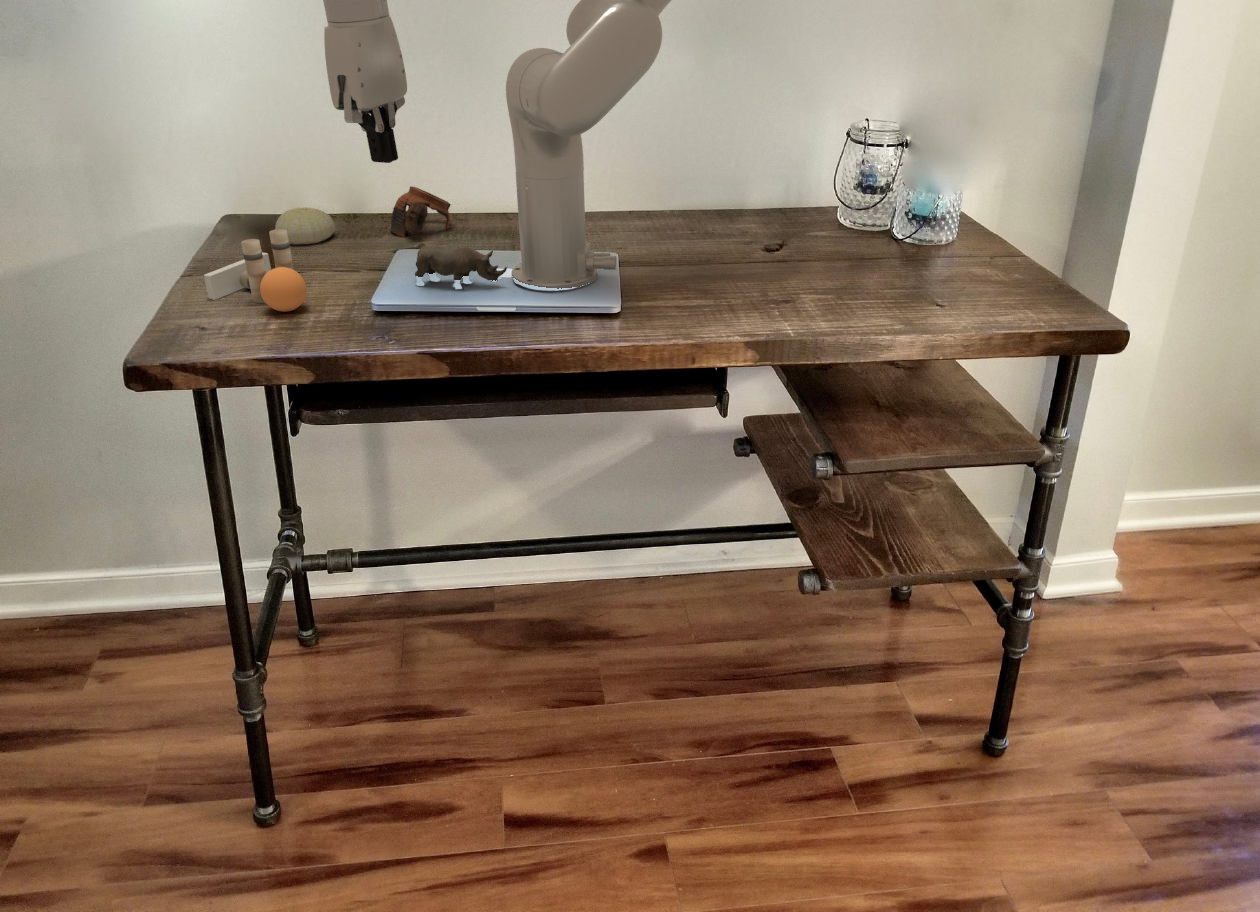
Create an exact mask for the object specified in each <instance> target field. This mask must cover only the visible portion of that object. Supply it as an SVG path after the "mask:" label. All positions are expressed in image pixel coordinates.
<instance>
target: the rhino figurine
mask: <svg viewBox="0 0 1260 912" xmlns="http://www.w3.org/2000/svg"><path fill="white" fill-rule="evenodd" d="M493 254H494V251H493V250H491V251H489V252H488V253H487V254H483V253H480V252H479V251H478V250H476V249H473V248H471V247H469V246H468V247H467V246H459V247H456V248H446V247H443V246H440V245H423V246H422V247H421V248H419V249H418V251H417V257H416V262H415V266H416V269H417V270H416V271H415V273H414V276H415V277H416V276H418V277H424V276H425V275H426V274H427V273H429V274H433V273H436V274H437V275H441V276H446V277H447V276H448V277H449V276H452V275H453V281H454V280H461V281H462V280H463V278H462V277H463V276H469V277H470V273H471V272H477V275H478V276H479V277H481V278H483V279H485V280H486V281H489V280H492V281H493V280H495V281H496V280H497V281H498V280H499V277H501V276H503V274H505V273H506V272H507V269H508V266H505V267H504V268H503V269H500V270H497V269H498V267H499V265H493V264H491V261H490V258H491V257H492V256H493ZM492 281H491V282H492Z"/></svg>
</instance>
